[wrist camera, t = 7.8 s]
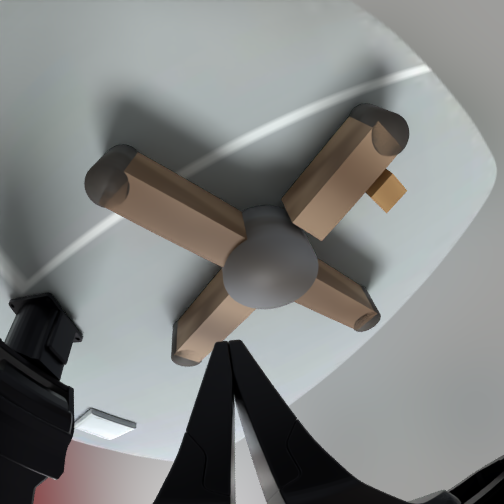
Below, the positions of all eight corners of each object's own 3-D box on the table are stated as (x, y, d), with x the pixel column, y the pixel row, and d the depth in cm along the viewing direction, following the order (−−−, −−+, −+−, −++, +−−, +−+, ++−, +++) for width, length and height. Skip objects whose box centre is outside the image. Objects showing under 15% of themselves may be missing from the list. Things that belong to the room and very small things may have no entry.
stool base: (278, 367, 31) (285, 393, 28) (58, 282, 20) (43, 313, 18) (432, 230, 22) (454, 254, 20) (191, 20, 12) (186, 8, 9)
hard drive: (90, 413, 34) (73, 428, 39) (136, 429, 38) (111, 441, 43) (92, 404, 36) (74, 420, 40) (136, 420, 40) (111, 434, 44)
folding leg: (308, 217, 20) (322, 241, 17) (279, 198, 19) (291, 221, 16) (389, 121, 16) (416, 133, 14) (364, 95, 15) (390, 103, 13)
